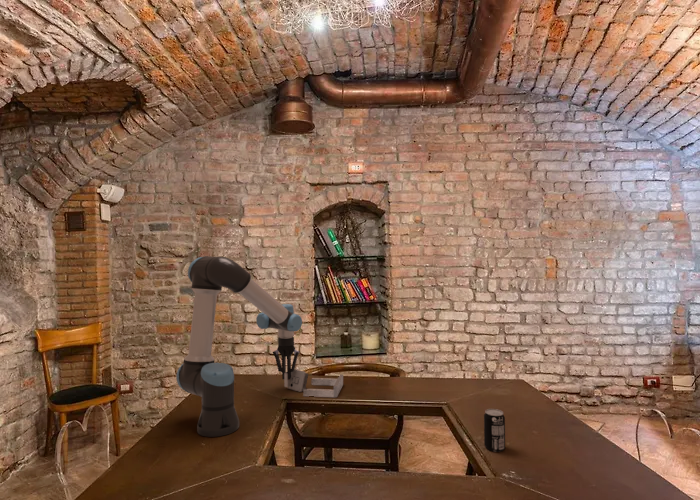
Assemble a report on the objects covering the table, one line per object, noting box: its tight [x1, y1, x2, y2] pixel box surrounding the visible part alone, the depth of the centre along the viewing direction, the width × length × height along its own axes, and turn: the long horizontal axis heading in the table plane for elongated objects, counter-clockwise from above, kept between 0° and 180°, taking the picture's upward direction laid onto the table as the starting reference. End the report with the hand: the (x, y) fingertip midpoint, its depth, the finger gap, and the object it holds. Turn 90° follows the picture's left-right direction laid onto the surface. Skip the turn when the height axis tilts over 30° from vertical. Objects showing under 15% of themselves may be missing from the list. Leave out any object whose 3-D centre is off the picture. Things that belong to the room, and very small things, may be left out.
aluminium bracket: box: [302, 374, 344, 398], centre depth 206 cm, size 18×16×5 cm
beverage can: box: [483, 408, 506, 453], centre depth 145 cm, size 7×7×12 cm
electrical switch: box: [287, 368, 309, 393], centre depth 208 cm, size 9×5×9 cm, turn 50°
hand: (286, 386), depth 208 cm, fingers closed
